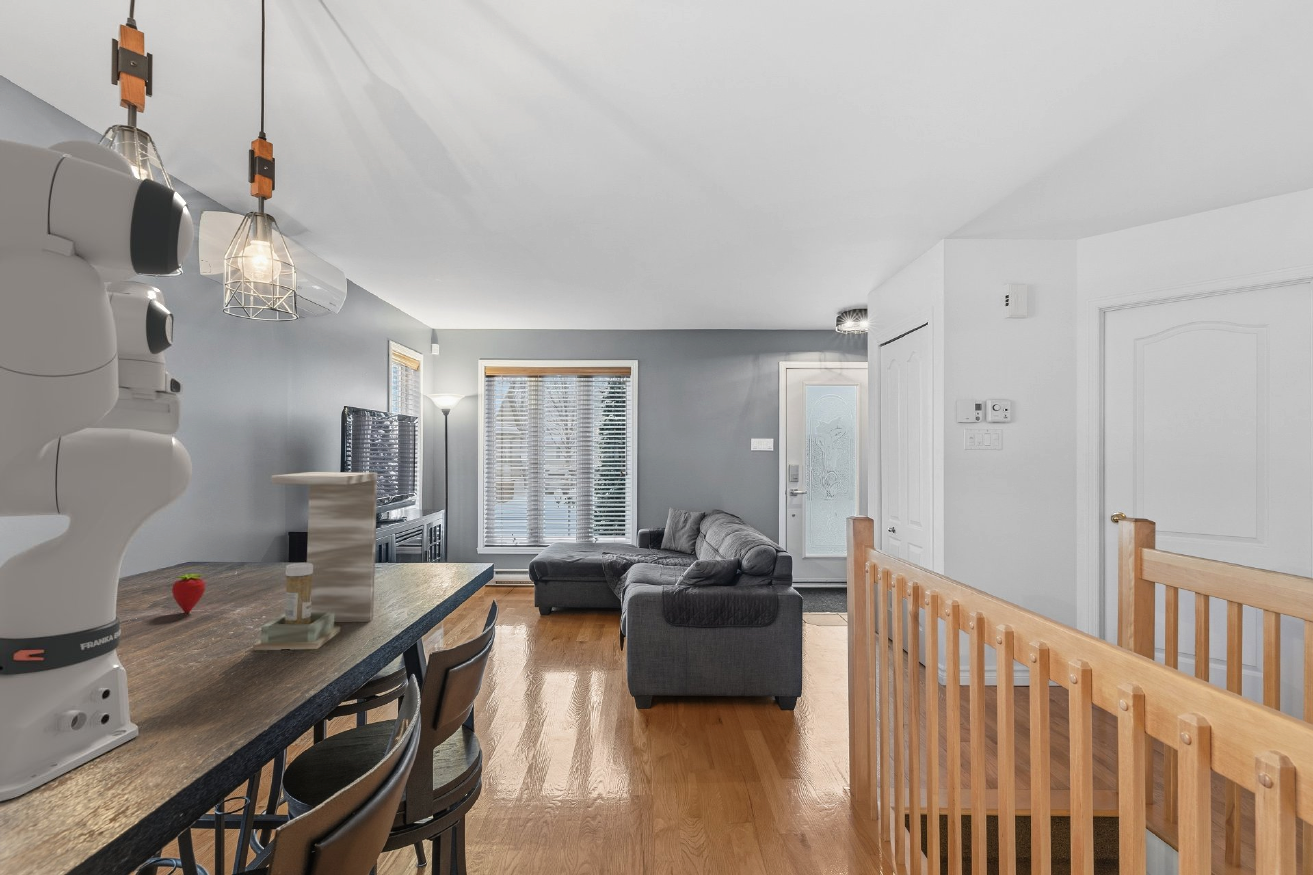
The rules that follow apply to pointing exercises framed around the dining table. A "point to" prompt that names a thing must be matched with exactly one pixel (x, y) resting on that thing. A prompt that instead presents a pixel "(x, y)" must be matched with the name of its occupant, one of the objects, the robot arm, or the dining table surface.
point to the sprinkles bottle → (298, 593)
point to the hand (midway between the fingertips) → (129, 460)
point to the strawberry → (188, 591)
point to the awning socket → (332, 558)
